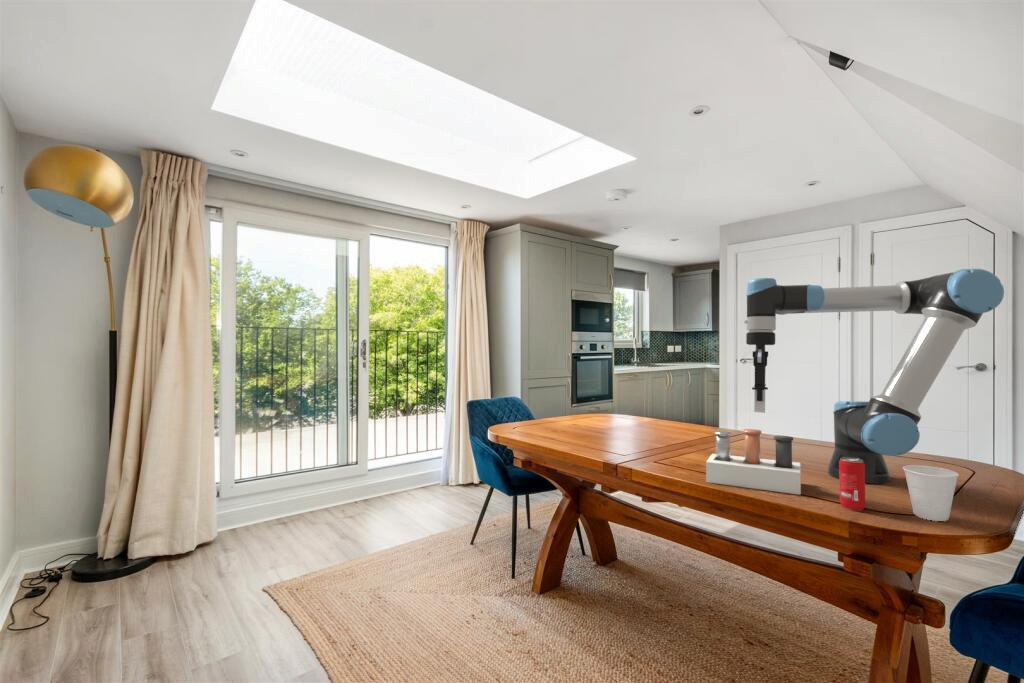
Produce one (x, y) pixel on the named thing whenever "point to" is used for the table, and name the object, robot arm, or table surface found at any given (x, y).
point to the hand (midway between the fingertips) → (759, 411)
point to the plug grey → (723, 445)
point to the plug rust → (752, 446)
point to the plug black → (783, 451)
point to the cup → (931, 491)
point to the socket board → (754, 474)
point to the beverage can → (852, 483)
